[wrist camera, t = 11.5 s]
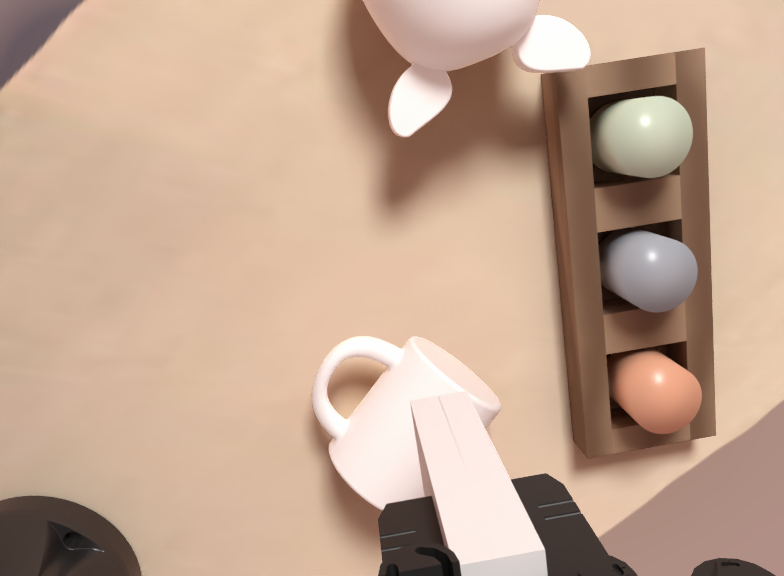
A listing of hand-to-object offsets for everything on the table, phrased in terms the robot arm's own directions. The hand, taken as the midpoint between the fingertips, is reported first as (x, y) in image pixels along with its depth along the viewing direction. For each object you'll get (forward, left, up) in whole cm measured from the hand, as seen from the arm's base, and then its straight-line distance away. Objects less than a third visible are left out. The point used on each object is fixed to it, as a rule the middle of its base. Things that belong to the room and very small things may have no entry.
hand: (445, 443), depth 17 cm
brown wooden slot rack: (+18, -4, -30) cm, 36 cm away
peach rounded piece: (+18, -13, -30) cm, 37 cm away
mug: (-1, -11, -31) cm, 33 cm away
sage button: (+18, +5, -30) cm, 35 cm away
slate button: (+18, -4, -30) cm, 35 cm away
